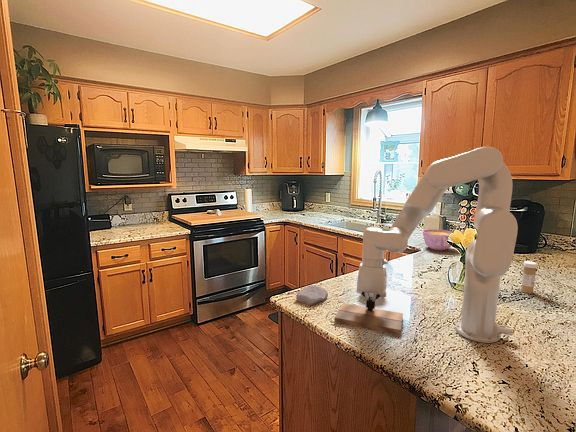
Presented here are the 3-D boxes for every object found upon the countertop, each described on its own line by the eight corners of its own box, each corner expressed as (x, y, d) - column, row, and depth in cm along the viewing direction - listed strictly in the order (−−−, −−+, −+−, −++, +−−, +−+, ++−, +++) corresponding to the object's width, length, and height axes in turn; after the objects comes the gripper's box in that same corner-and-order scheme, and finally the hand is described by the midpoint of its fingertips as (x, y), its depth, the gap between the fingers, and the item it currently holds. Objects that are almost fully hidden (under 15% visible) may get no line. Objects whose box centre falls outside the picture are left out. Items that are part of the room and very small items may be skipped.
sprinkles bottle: (527, 289, 138) (531, 260, 136) (536, 294, 133) (540, 264, 131) (517, 290, 138) (521, 260, 136) (525, 294, 133) (529, 264, 131)
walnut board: (401, 327, 106) (401, 321, 105) (400, 335, 100) (400, 330, 100) (338, 315, 114) (338, 310, 114) (334, 322, 109) (334, 317, 108)
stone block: (329, 301, 131) (310, 291, 137) (331, 291, 130) (311, 281, 135) (313, 312, 122) (293, 301, 128) (315, 302, 120) (295, 291, 126)
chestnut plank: (402, 318, 112) (402, 313, 111) (401, 326, 106) (401, 321, 106) (342, 307, 120) (342, 303, 120) (338, 314, 115) (338, 309, 114)
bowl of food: (452, 254, 194) (454, 236, 192) (418, 250, 205) (419, 233, 203) (455, 247, 210) (457, 231, 209) (424, 244, 221) (425, 228, 219)
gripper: (395, 261, 112) (392, 309, 115) (354, 256, 118) (352, 302, 121) (393, 267, 105) (390, 318, 108) (349, 262, 111) (348, 310, 114)
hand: (370, 309), depth 114 cm, fingers closed
